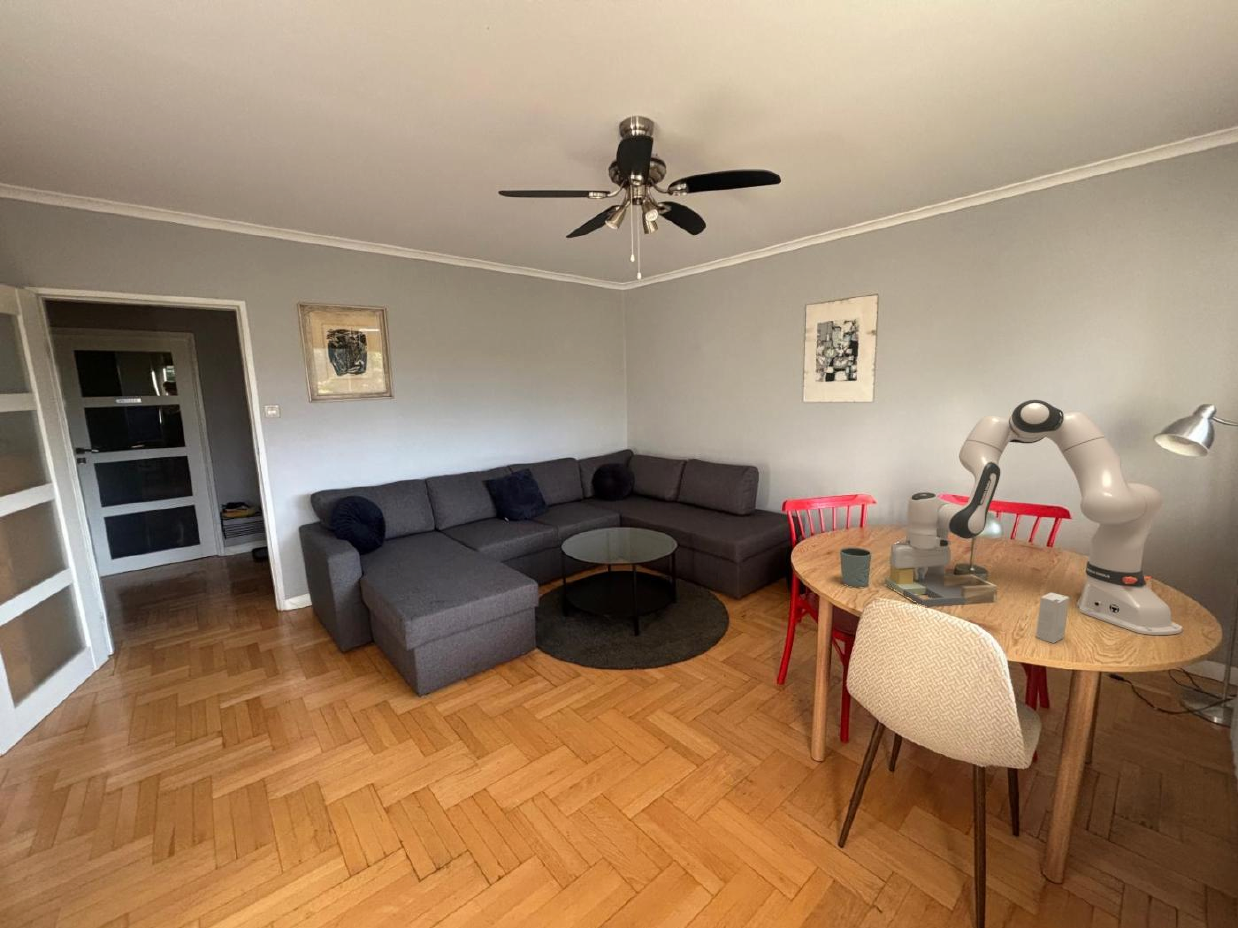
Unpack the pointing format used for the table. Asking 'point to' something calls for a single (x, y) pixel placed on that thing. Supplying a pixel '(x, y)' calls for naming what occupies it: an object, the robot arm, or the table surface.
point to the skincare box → (1052, 617)
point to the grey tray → (931, 591)
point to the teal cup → (855, 566)
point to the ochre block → (901, 575)
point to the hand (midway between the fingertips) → (918, 578)
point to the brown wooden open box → (972, 588)
